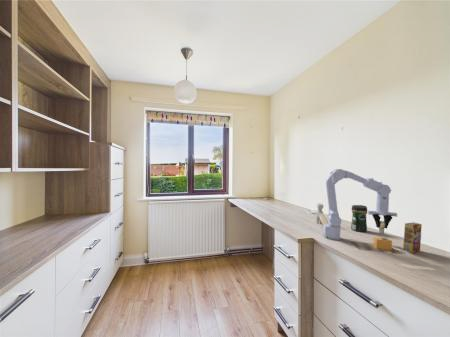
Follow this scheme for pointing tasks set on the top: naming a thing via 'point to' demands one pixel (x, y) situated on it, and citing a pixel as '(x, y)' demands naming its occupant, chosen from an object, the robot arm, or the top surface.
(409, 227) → the candy box
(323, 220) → the hammer
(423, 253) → the top surface
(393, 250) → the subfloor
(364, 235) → the top surface
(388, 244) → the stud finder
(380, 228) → the stepped metal cylinder
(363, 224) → the coffee jar
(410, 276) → the top surface
